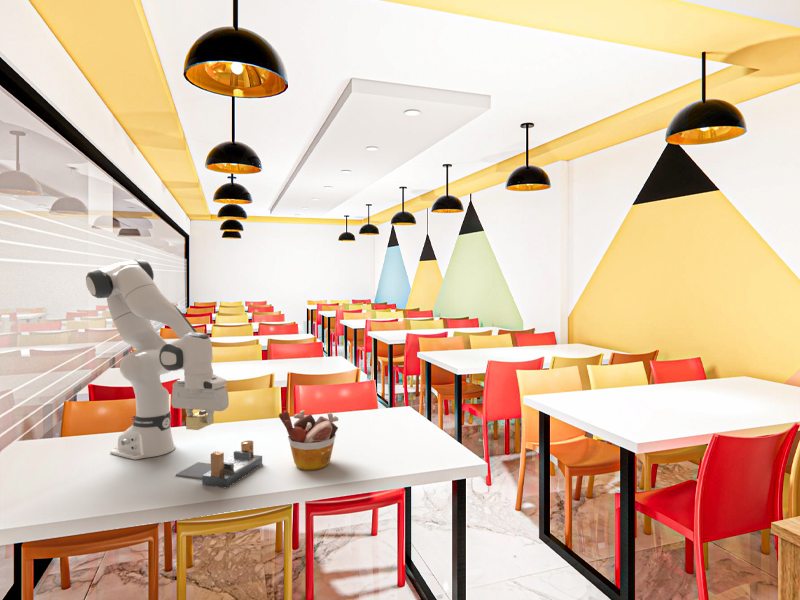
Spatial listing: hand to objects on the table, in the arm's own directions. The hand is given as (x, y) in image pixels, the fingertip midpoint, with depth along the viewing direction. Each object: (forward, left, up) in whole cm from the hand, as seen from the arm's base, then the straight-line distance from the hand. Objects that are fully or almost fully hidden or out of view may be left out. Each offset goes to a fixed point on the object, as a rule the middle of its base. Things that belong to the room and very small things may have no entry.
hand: (200, 422), depth 164 cm
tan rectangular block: (0, 0, -1) cm, 1 cm away
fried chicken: (+33, +15, -17) cm, 40 cm away
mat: (0, 0, -17) cm, 17 cm away
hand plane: (+12, +1, -17) cm, 20 cm away
